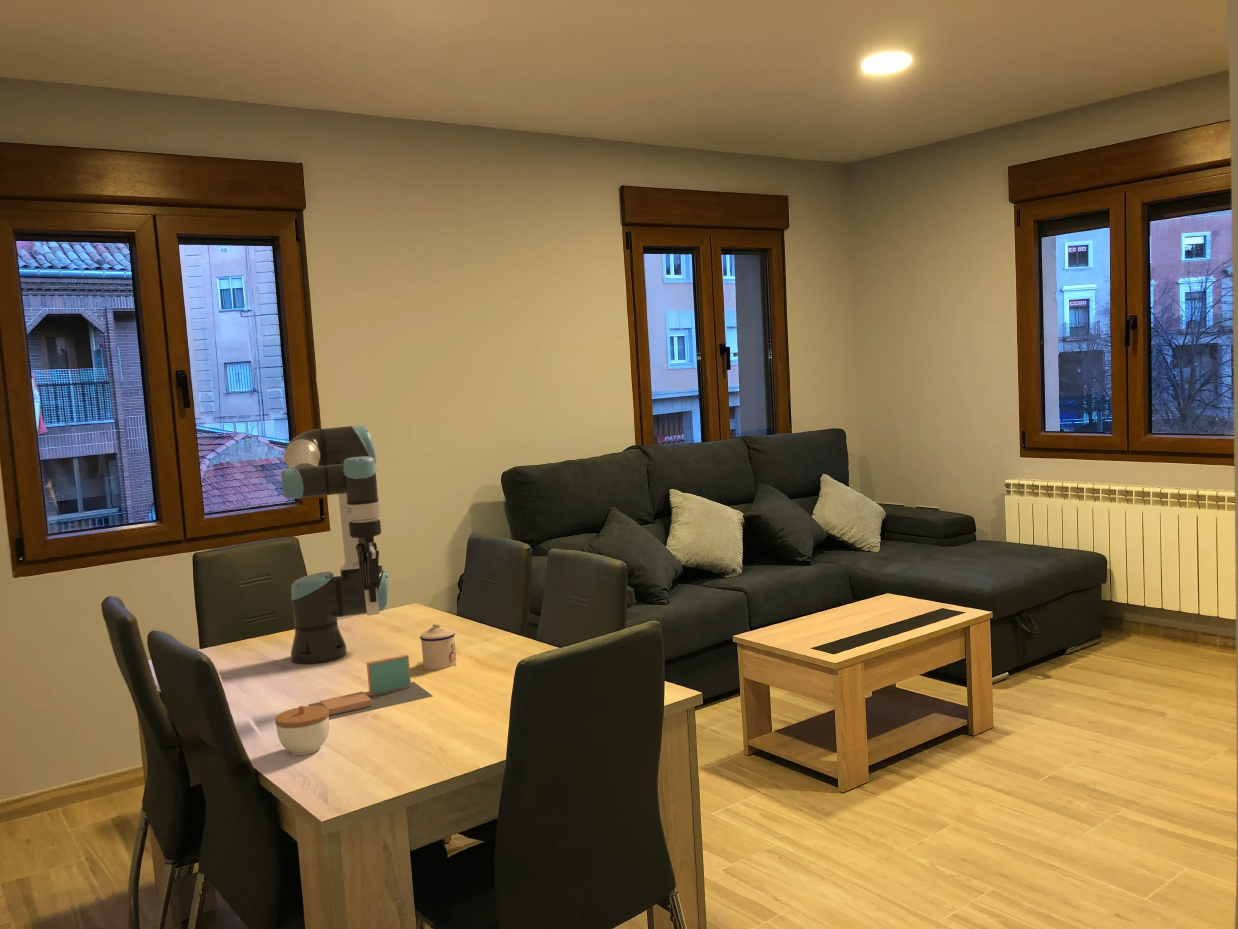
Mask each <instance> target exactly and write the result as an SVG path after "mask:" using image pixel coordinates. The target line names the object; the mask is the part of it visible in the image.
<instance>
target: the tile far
mask: <svg viewBox="0 0 1238 929" xmlns="http://www.w3.org/2000/svg"><path fill="white" fill-rule="evenodd" d="M409 658H410V657H409V655H408V654H406V653H405V654H402V655H396V656H393V657H392V656H391V657H386V658H380V659H378V660H377V659H376V660H372V661H371V660H370V661H367V662H366V671H367V673H366V674H367V682H368V683H367V684H368V691H369V695H370V696H373V695H378V694H383V693H387V692H392V691H396V690H401V689H405V688H410V687H411V682H412V680H411V670H410V659H409Z"/></svg>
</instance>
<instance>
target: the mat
mask: <svg viewBox="0 0 1238 929" xmlns="http://www.w3.org/2000/svg"><path fill="white" fill-rule="evenodd" d="M363 692H364V693H365V694H366V695H367V696H368V697H369V698H370V699H371V700H372V706H369V707H365V708H360V709H356V710H351V711H347V712H343V713H338V714H334V715H329V721H331V720H335V719H338V718H343V717H349V716H351V715H357V714H361V713H366V712H371V711H373V710H379V709H384V708H388V707H392V706H397V705H401V704H405V703H410V702H415V701H418V700H419V701H420V700H423V699H428V698H432V697H434V696H433V694H431V693H429V691H427V690H426V689H424V688H423V687H421V686H420V685H419V684H418V683H416V682H415V681H411V687H410V688H405V689H401V690H396V691H392V692H387V693H383V694H378V695H373V696H370V695H369V690H368V691H363ZM307 706H321V703H320V701H317V702H313V703H309V704H307Z"/></svg>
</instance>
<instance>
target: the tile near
mask: <svg viewBox="0 0 1238 929" xmlns="http://www.w3.org/2000/svg"><path fill="white" fill-rule="evenodd" d="M364 692H365V691H359V692H353V693H349V694H345V695H341V696H340V695H339V696H336V697H330V698H325V699H321V700H320V701H319V702H320V703H321V706H323V707H326V708H327V709H328V710H329V715H334V714H338V713H343V712H347V711H351V710H356V709H360V708H365V707H369V706H372V700H371V699H370V698H369V697H368V696H367V695H366V694H365V693H364Z"/></svg>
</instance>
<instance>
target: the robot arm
mask: <svg viewBox="0 0 1238 929" xmlns="http://www.w3.org/2000/svg"><path fill="white" fill-rule="evenodd" d="M283 456H284V457H283V458H284V462H285V464H286V466H287V468H285V469H283V470H281V473H280V476H281V477H280V478H281V485H282V493H283V494H282V495H283V497H284V498H285V499H287V500H288V499H297V500H300V499H304V498H313V497H321V496H332V495H338V504H339V514H340V525H341V534H342V544H343V545H342V546H343V554H344V564H343V565H342V567H340V575H336V576H335V575H334V573H333V572H332V571H323V572H322V571H321V572H316V573H312V574H308V575H305V576H302V577H300V578H298V579H296V580H294V581H293V582H292V583H291V588H290V589H291V590H290V591H291V601H292V610H293V621H294V622H293V623H294V637H293V643H292V646H291V650H290V656H291V657H290V659H291V662H293V663H295V664H306V665H307V664H318V663H325V662H328V661H334V660H336V659H340V658H342V657H344V656H345V655H346V654H347V644H346V642H345V639H344V637H343V635H342V633H341V630H340V628H339V626H338V618H342V617H343V618H344V617H350V616H357V615H358V616H359V615H365V614H366V615H367V616H373V615H374V616H375V615H379V614H380V612H383V611H384V610H385V609H386V608H387V605H388V600H389V598H388V596H389V572H388V571H387V570H386V569H383V565H382V563H381V562H379V558H380V557H379V556H380V550H379V549H378V546H377V542H375V538H374V537H375V536H380V535H381V534H382V525H381V520H380V519H379V518H380V517H381V512H380V502H379V496H378V494H379V493H378V484H377V483H378V481H377V467H376V464H377V457H376V451H375V446H374V442H373V439H372V435H371V433H370V431H369V429H368V427H366V426H364V425H363V426H362V425H361V426H360V425H358V426H357V425H355V426H354V425H349V426H338V427H327V428H315V429H309V430H307V431H304V432H302V433H299V434H298V435H296V436H295V437H293V438H292V439H290V441H289V442H288V443H287V445H286V446H285V448H284V454H283Z"/></svg>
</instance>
